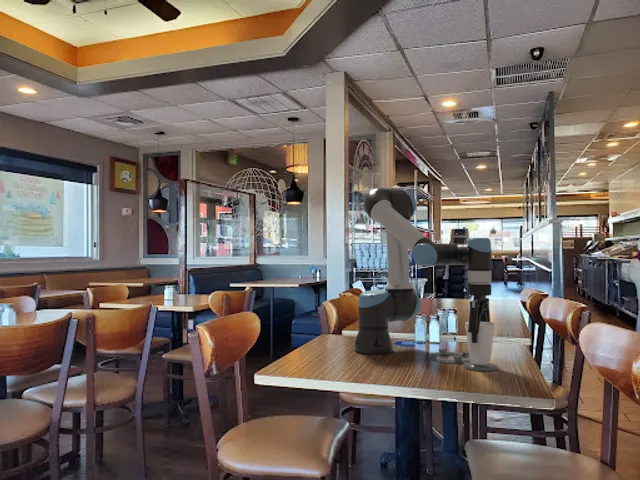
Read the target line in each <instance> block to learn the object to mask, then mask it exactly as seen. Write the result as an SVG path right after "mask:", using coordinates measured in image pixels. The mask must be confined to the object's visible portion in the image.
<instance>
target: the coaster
mask: <svg viewBox="0 0 640 480" xmlns="http://www.w3.org/2000/svg"><path fill="white" fill-rule="evenodd" d="M462 366H463V367H462V368H464V369H466V370H468V371H474V372H479V373H481V372H482V373H483V372H485V373H487V372H488V373H489V372H490V373H491V372H495V371H498V369H499V368H498V367H499V366H498V364H495V363H492V362H490V363H489V364H476V363H472V362H471V361H468V362H465V363H462Z"/></svg>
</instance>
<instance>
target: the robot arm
mask: <svg viewBox="0 0 640 480" xmlns="http://www.w3.org/2000/svg"><path fill="white" fill-rule="evenodd" d="M416 201H417V200H416V199H415V196H414V194H412V193H411V192H410V191H408V190H407V189H406V190H405V189H400V188H399V189H398V188H397V189H396V188H383V187H378V188H374V189H371V190H370V191H369V192H368V193H367V194H366V195H365V196H364V199H363V209H364V211H365V213H366V215H367V216H368V217H369V218H370V219H371V220H372V221H373V222H376V223H379V224H380V225H382V226H383V228H385V229H386V249H387V250H386V251H387V253H386V255H387V272H388V273H387V275H388V276H387V277H388V283H387V285H386V286H385V287H384V289H371V290H367V291H363V292H361V293H360V294H359V295H358V304H357V306H358V332H357V335H356V339H355V341H354V343H353V344H354V345H353V346H354V352H357V353H360V354H367V355H385V354H390V353H392V352H394V345H393V342H392V339H391V336H390V333H389V323H392V322H398V321H399V322H406V321H408V320H409V321H410V320H412V319H414V318H415V317H416V316H418V314H419V313H420V309H421V300H420V297H419V295H418V294H417V293H416V292H415V291H414V286H413V285H412V284H411V283H410V263H409V262H410V260H409V251H410V252H411V256H412V259H413V261H414V263H415V264H416V265H418V266H424V267H431V266H433V267H434V266H467V273H466V276H467V281H468V284H467V294H468V295H469V296H473V299H472V300H471V301H469V319H468V322H469V329H468V332H470V333H471V352H474V353H480V333H479V325H480V321H482V322H491V314H490V298H489V297H487V296H491V295H492V285H491V283H492V243H491V239H490V238H488V237H469V238H468V239H467V243H452V242H451V243H435V242H434V241H432V240H431V239H430V238H428V236H426V235H425V234H424V233H423V232H422V231H421V230H419V229H418V228H417V227H416V226H415V225H413V224H412V223H411V221H412V220H411V219H412V217H413V216H414V215H415V212H416V211H417V202H416Z"/></svg>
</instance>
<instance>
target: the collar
mask: <svg viewBox="0 0 640 480" xmlns="http://www.w3.org/2000/svg"><path fill="white" fill-rule="evenodd" d="M439 356H453V359H447V358H440V357H439ZM428 358H429V359H430V360H432V361H434V362H438V363H445V364H464V363H465V362H471V361H470V355H469V351H466V350H463V351H462V352H455V351H447V349H446V348H439V349H438V351H434V352H430V354H429V356H428Z"/></svg>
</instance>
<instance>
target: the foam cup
mask: <svg viewBox="0 0 640 480" xmlns="http://www.w3.org/2000/svg"><path fill="white" fill-rule="evenodd" d="M464 326H465V329H464V330H465V331H466V332H465V333H466V339H467V340H466V341H467V347H468V352H469V355H470V361H469V362H472V363H476V364H489V363H491V358H492V350H493V343H494V335H495V330H496V329H495V328H496V323H494V322H491V321H490V322H482V321H480V325H479V333H480V353H474V352H471V333H470V332H468V329H469V321H465V325H464Z"/></svg>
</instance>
